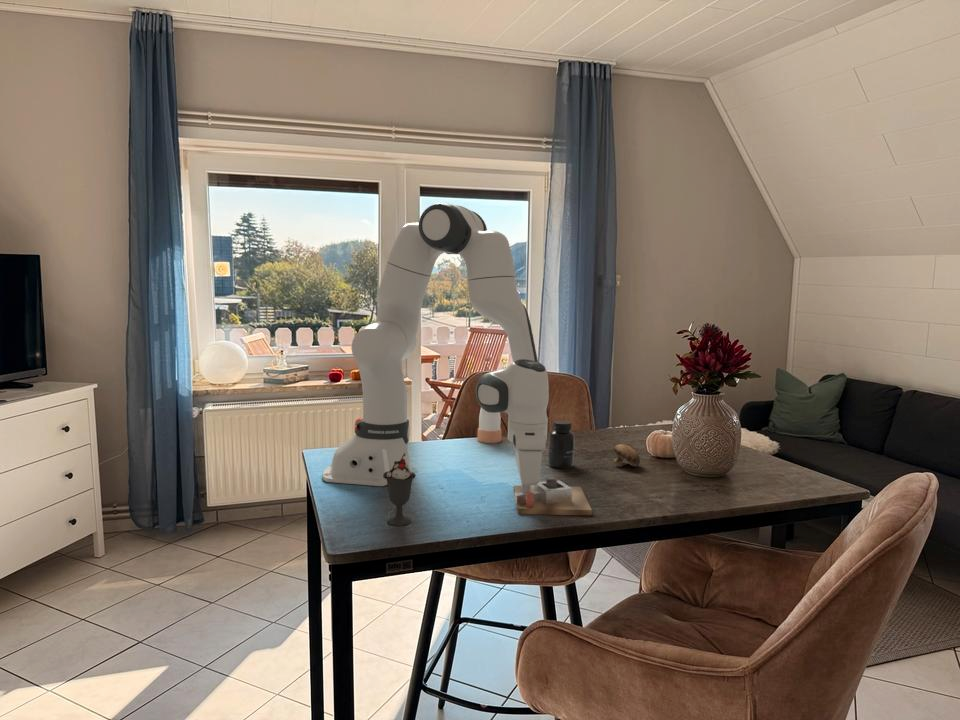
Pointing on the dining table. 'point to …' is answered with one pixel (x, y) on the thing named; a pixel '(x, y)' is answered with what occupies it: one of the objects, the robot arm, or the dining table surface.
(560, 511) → the post base
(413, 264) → the robot arm
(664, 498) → the dining table surface
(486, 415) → the pepper shaker
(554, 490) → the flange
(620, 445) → the mushroom
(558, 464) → the supplement bottle
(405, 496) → the sundae
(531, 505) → the dowel pin
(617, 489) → the dining table surface
